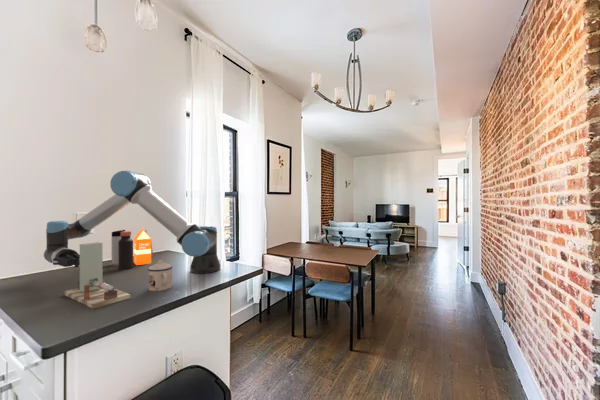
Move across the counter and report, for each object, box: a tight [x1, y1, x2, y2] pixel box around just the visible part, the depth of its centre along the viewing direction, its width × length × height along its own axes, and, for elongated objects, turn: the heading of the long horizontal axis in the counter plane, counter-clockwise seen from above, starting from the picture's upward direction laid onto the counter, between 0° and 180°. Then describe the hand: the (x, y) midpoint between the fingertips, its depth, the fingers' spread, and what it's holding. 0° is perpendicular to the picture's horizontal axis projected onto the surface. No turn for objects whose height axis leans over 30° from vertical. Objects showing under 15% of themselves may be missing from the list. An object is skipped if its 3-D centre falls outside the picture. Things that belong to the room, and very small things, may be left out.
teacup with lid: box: [147, 259, 173, 292], centre depth 116 cm, size 12×9×12 cm
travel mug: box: [111, 229, 126, 267], centre depth 161 cm, size 6×7×20 cm
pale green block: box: [79, 241, 104, 292], centre depth 110 cm, size 4×6×18 cm, turn 147°
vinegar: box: [118, 230, 134, 271], centre depth 152 cm, size 7×7×20 cm
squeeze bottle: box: [144, 229, 154, 257], centre depth 178 cm, size 8×8×18 cm
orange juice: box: [133, 228, 152, 266], centre depth 165 cm, size 8×9×20 cm
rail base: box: [63, 281, 131, 309], centre depth 107 cm, size 26×12×6 cm, turn 57°
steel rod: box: [89, 279, 115, 292], centre depth 107 cm, size 24×2×2 cm, turn 57°
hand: (87, 263), depth 111 cm, fingers closed
